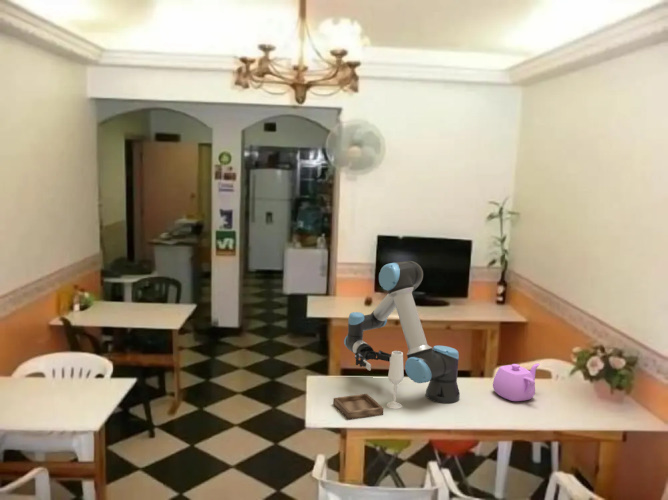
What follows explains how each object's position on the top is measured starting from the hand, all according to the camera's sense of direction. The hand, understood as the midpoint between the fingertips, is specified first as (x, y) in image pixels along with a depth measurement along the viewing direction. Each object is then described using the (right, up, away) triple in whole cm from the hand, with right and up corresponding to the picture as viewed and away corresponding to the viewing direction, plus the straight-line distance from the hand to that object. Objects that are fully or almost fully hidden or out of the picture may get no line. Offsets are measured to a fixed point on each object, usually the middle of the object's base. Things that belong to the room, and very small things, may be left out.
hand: (383, 366), depth 274 cm
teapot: (+61, -16, +9) cm, 63 cm away
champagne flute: (+4, -16, -8) cm, 18 cm away
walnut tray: (-12, -16, -14) cm, 24 cm away
